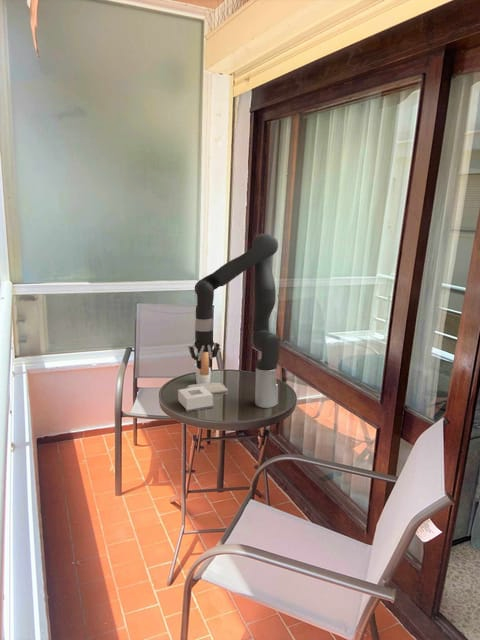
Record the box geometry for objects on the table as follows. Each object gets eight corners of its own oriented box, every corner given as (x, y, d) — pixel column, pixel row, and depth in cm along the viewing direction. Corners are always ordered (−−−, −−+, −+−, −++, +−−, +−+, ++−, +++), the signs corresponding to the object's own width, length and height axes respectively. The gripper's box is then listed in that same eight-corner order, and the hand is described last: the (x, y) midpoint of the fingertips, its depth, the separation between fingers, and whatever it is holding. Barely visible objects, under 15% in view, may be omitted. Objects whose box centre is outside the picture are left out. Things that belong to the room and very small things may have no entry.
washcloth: (229, 394, 230) (229, 388, 229) (192, 399, 223) (192, 393, 223) (221, 386, 240) (221, 380, 240) (186, 390, 234) (186, 384, 234)
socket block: (203, 398, 224) (203, 385, 222) (212, 407, 213) (212, 394, 212) (178, 402, 219) (178, 389, 217) (187, 412, 208) (186, 399, 207)
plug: (206, 371, 209) (206, 349, 207) (210, 374, 205) (210, 352, 203) (198, 373, 207) (198, 350, 205) (201, 375, 204) (201, 353, 201)
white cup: (193, 381, 246) (193, 362, 243) (208, 379, 248) (208, 360, 246) (198, 386, 238) (197, 367, 236) (213, 384, 241) (213, 365, 239)
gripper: (216, 325, 208) (216, 363, 212) (184, 328, 202) (185, 367, 206) (223, 328, 202) (223, 368, 205) (191, 332, 196) (191, 372, 199)
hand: (204, 367), depth 206 cm, fingers closed on plug, 4 cm apart
